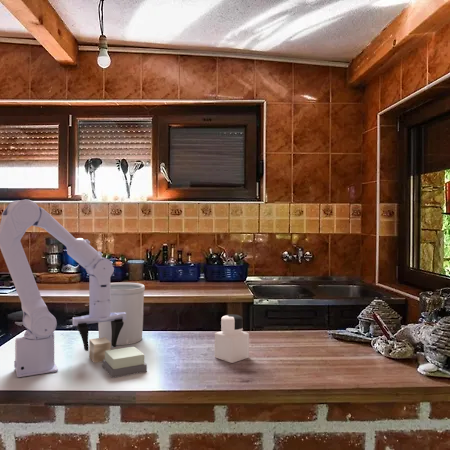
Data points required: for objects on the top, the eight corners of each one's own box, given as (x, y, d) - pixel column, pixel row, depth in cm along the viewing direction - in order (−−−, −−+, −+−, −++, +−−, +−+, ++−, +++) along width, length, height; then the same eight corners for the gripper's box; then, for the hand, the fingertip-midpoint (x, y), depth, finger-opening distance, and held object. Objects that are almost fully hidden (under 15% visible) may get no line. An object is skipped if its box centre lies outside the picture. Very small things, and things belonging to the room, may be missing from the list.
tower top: (113, 369, 110) (113, 359, 110) (104, 360, 117) (104, 350, 117) (144, 364, 114) (144, 354, 114) (134, 355, 121) (134, 346, 121)
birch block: (94, 363, 121) (94, 344, 121) (89, 356, 126) (89, 339, 126) (110, 360, 123) (110, 342, 123) (105, 354, 128) (105, 337, 128)
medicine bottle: (231, 352, 131) (231, 311, 131) (249, 357, 126) (249, 315, 126) (213, 357, 126) (214, 315, 126) (231, 363, 121) (232, 319, 121)
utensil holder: (147, 333, 151) (147, 282, 151) (140, 346, 136) (140, 289, 136) (104, 333, 151) (104, 281, 150) (92, 346, 136) (92, 289, 136)
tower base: (111, 380, 110) (111, 370, 110) (102, 369, 118) (102, 359, 118) (146, 374, 114) (146, 364, 114) (135, 363, 122) (135, 354, 122)
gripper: (75, 304, 117) (76, 355, 118) (129, 299, 124) (129, 347, 125) (71, 300, 123) (71, 348, 124) (122, 295, 130) (122, 341, 131)
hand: (100, 347), depth 125 cm, fingers open, 7 cm apart
